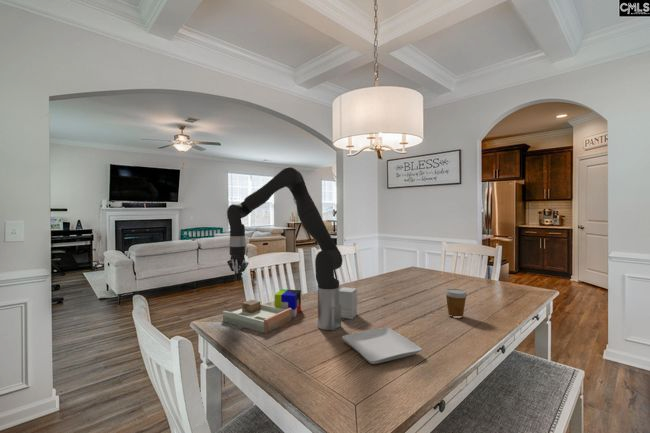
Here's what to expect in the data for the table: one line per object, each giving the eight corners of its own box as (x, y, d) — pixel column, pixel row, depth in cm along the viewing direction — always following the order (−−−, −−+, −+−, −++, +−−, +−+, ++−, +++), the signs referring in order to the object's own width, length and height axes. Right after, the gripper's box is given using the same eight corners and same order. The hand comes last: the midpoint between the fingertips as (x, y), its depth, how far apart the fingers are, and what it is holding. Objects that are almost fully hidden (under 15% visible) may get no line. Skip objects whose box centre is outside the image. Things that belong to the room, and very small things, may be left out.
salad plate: (370, 371, 96) (370, 360, 96) (340, 343, 116) (340, 335, 116) (423, 358, 105) (423, 348, 105) (387, 334, 124) (387, 326, 124)
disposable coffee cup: (469, 316, 145) (469, 290, 144) (462, 321, 138) (462, 295, 137) (449, 311, 151) (449, 287, 151) (441, 316, 144) (441, 291, 144)
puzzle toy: (294, 316, 144) (294, 295, 144) (274, 315, 146) (274, 294, 146) (300, 309, 154) (300, 290, 153) (281, 308, 156) (281, 289, 155)
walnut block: (260, 309, 146) (260, 301, 146) (251, 313, 141) (251, 304, 141) (251, 307, 149) (251, 299, 149) (242, 311, 144) (242, 302, 144)
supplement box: (357, 314, 147) (357, 288, 147) (352, 319, 140) (352, 292, 140) (343, 312, 150) (343, 286, 150) (337, 317, 143) (337, 290, 143)
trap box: (291, 320, 139) (291, 308, 139) (266, 333, 125) (266, 320, 125) (250, 310, 153) (250, 299, 153) (222, 321, 138) (222, 309, 138)
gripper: (253, 245, 149) (253, 280, 149) (234, 243, 156) (234, 277, 156) (241, 246, 142) (241, 283, 143) (222, 245, 149) (222, 280, 150)
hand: (237, 280), depth 149 cm, fingers closed
